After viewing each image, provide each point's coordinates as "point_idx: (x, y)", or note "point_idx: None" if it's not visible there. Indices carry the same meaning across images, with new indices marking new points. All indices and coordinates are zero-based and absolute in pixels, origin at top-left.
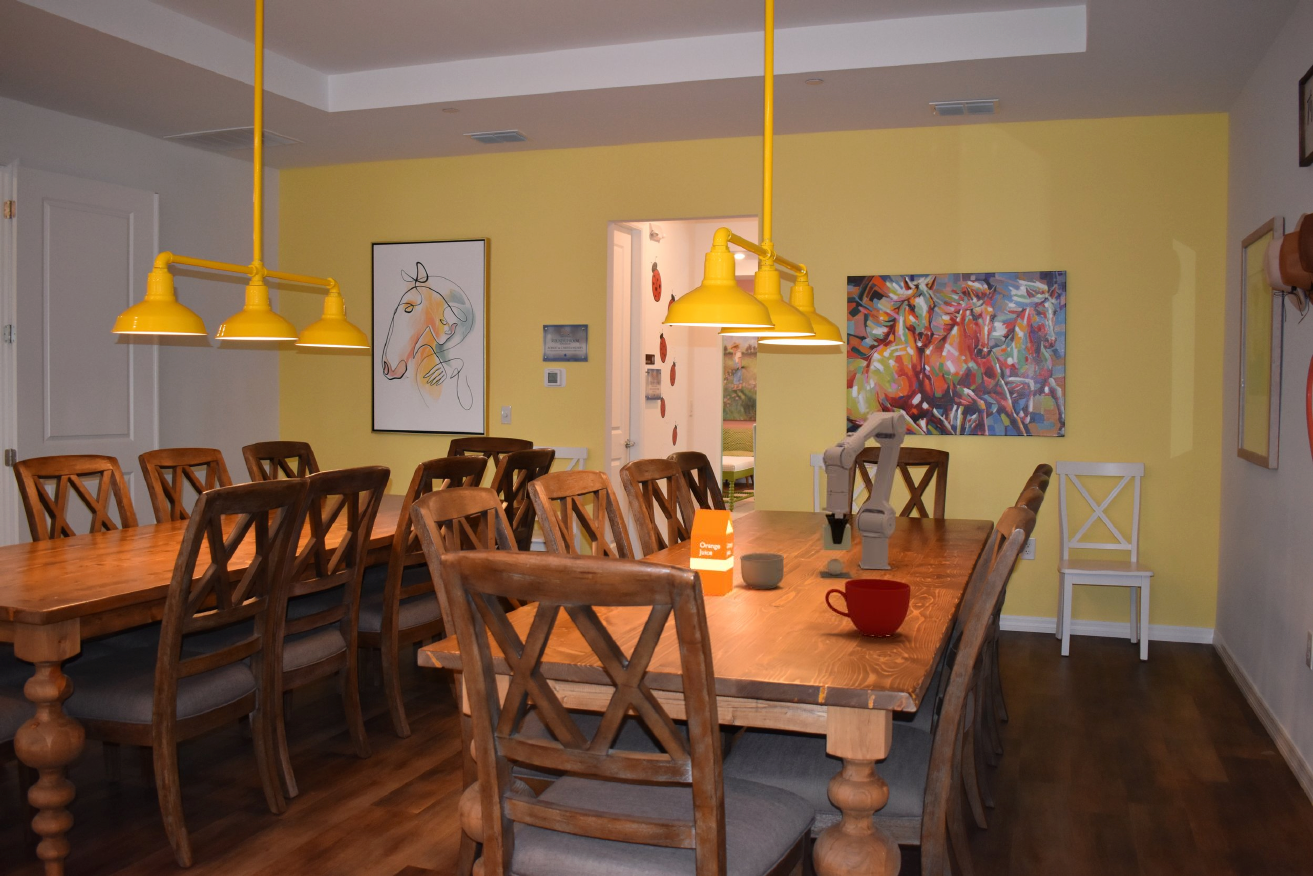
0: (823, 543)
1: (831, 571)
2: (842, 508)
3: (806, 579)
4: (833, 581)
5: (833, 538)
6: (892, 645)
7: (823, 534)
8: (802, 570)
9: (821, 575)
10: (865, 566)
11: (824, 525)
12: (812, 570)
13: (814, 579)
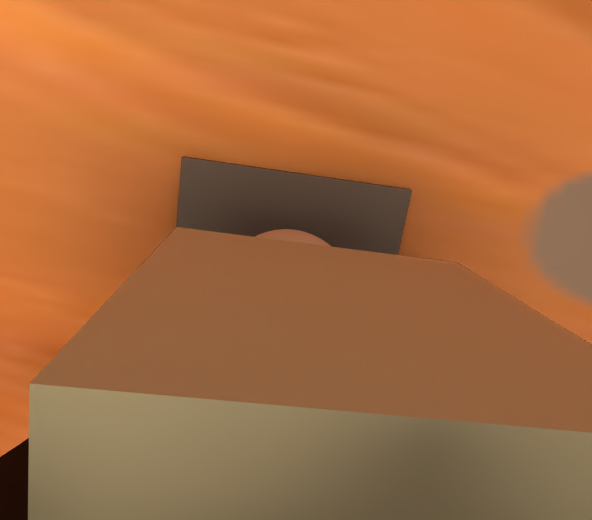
0: (357, 265)
1: None
2: None
3: (76, 4)
4: (21, 215)
5: None
6: None
7: (336, 309)
8: (509, 66)
9: (234, 168)
10: None
11: (463, 462)
12: (501, 151)
13: (87, 78)
